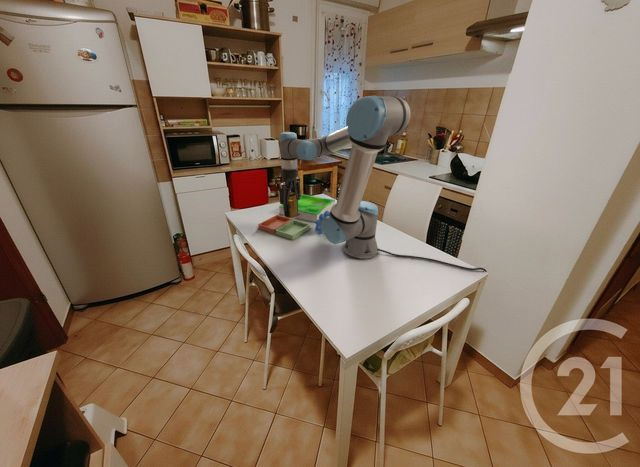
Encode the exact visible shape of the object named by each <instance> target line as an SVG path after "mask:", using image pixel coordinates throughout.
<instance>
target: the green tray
mask: <svg viewBox="0 0 640 467" xmlns="http://www.w3.org/2000/svg"><path fill="white" fill-rule="evenodd" d="M310 229H311V224H310V223H306V222H304V221H300V220H298V219H297V220H296V219H293V220H292V221H290V222H289V223H287V224H285V225H283V226H282V227H280V228H278V229H276V230H275V231H276V233H275V235H277V236H280V237H282V238H286V239H288V240H292V241H294V240H295V239H297V238H299V237H300V236H302V235H303V234H304V233H306V232H308V231H309V230H310Z"/></svg>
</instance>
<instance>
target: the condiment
mask: <svg viewBox="0 0 640 467" xmlns="http://www.w3.org/2000/svg"><path fill="white" fill-rule="evenodd" d="M288 204H289V211H290V217H286V216H285V215H281V216H282V217H286V218H290V219H293V220H296V219H298V218H297V217H298V216H299V215H301V214H302V213H300V212H298V213H297V198H296V194H295V192H292V191H290V193H289V200H288Z"/></svg>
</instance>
